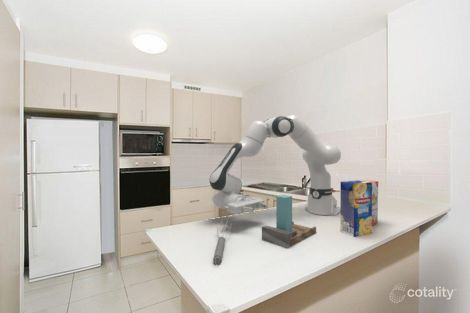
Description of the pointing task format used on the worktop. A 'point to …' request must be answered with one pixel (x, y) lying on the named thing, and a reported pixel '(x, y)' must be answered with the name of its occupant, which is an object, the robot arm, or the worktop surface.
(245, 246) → the worktop surface
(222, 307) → the worktop surface
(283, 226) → the teal block on base
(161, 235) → the worktop surface
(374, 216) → the cracker box
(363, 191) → the beverage box
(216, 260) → the kitchen whisk
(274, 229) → the track
